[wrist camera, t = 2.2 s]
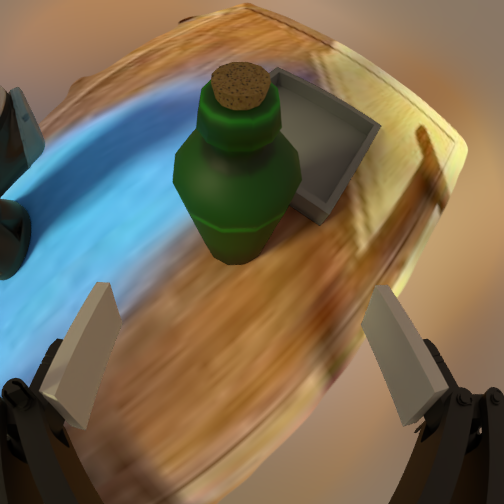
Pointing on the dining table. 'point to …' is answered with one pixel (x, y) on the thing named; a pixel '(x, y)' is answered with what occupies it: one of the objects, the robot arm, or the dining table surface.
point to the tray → (321, 141)
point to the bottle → (237, 163)
